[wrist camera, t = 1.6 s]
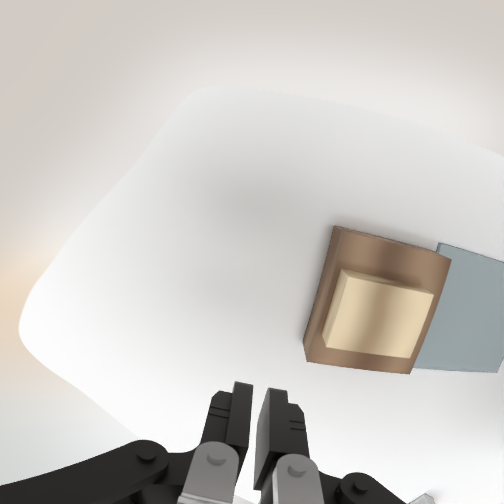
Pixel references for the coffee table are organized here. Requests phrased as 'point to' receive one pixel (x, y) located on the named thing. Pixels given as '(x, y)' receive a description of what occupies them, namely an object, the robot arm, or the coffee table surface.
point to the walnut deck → (377, 264)
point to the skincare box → (424, 500)
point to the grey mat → (467, 316)
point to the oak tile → (375, 315)
